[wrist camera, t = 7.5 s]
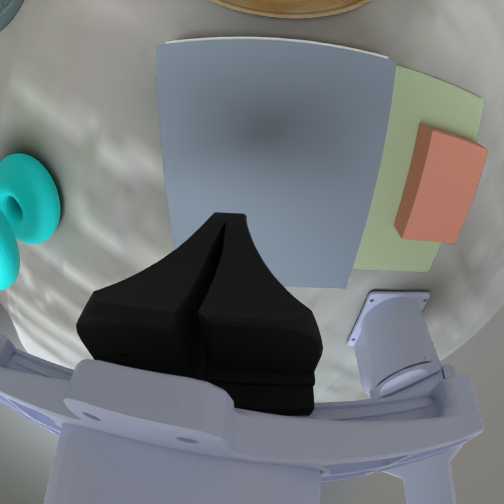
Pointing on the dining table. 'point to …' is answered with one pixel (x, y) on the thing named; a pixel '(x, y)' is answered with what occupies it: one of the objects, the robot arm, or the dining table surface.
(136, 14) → the dining table surface
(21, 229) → the donuts
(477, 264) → the dining table surface
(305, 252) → the book deck
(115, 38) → the dining table surface
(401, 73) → the felt mat
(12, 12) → the grey plant pot
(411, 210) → the card box
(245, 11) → the plant saucer
